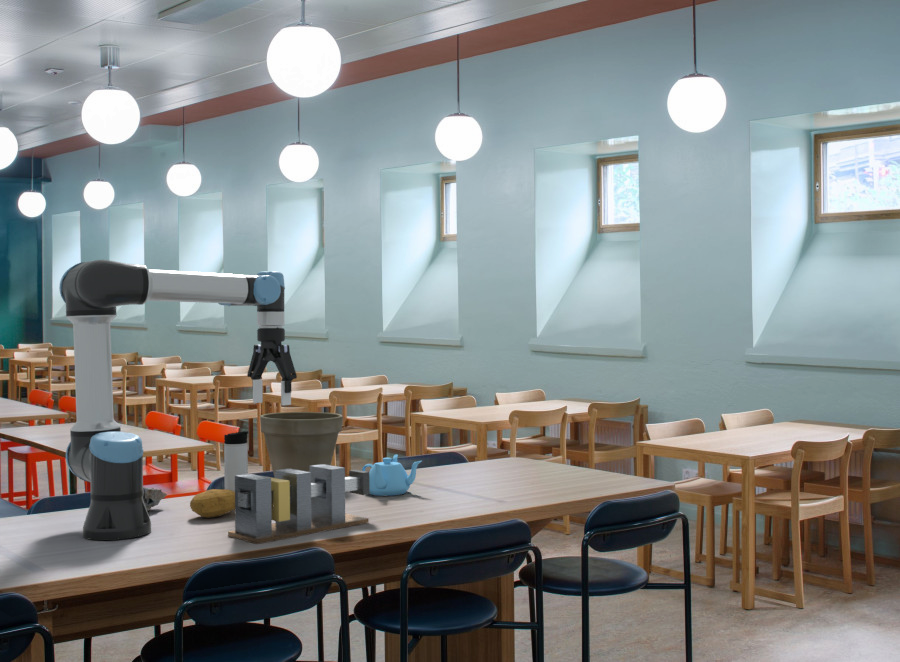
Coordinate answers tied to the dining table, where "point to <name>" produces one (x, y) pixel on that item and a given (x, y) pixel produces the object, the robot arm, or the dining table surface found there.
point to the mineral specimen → (152, 497)
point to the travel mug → (235, 457)
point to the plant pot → (300, 438)
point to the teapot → (390, 477)
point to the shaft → (323, 487)
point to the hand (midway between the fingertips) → (271, 404)
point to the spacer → (280, 499)
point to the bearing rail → (292, 505)
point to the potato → (213, 502)
